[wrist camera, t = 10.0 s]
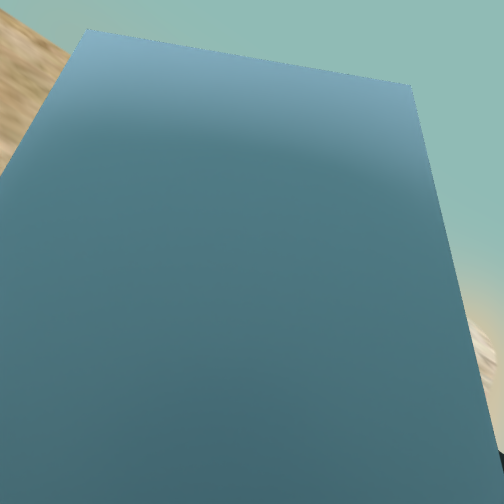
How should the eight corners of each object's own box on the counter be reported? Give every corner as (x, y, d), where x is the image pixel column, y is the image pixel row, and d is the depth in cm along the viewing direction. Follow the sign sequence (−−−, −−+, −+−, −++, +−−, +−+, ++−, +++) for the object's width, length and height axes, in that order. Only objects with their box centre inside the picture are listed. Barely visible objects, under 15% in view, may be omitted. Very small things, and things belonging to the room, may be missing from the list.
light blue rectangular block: (282, 441, 13) (599, 879, 2) (136, 431, 13) (-447, 939, 2) (288, 261, 17) (410, 85, 6) (176, 247, 17) (86, 29, 6)
